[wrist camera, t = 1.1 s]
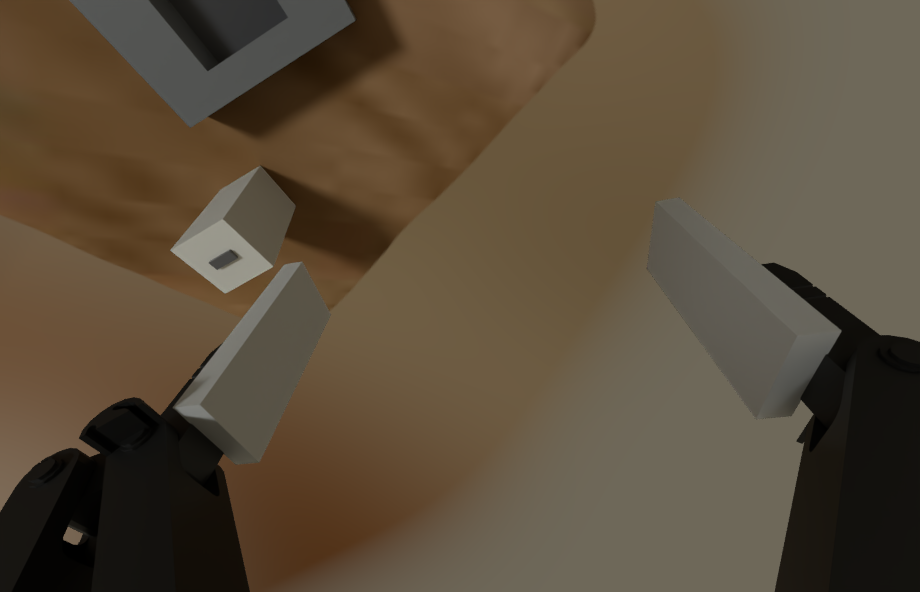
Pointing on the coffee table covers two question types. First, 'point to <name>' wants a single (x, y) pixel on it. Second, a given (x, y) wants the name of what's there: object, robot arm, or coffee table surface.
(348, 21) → the block
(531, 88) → the coffee table surface
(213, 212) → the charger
